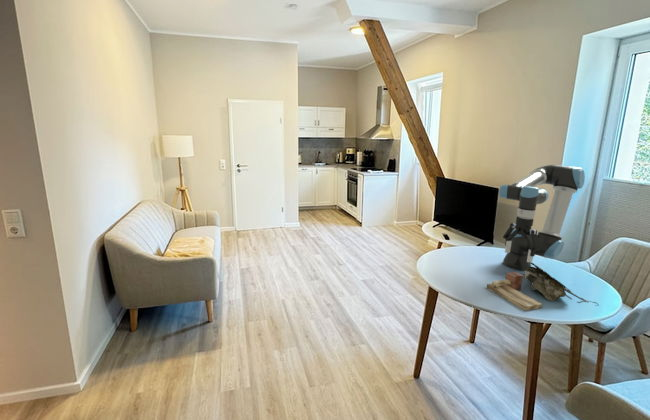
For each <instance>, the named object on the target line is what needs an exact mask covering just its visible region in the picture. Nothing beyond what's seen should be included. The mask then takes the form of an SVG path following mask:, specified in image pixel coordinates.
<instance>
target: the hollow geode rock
mask: <svg viewBox="0 0 650 420" xmlns="http://www.w3.org/2000/svg"><path fill="white" fill-rule="evenodd" d="M530 263H531V267H527V269H526V270H524V277H525V280H527V281H528V282H529V283H531V285H530V288H531V290H532V291H533V290H537V291H538V292H539V293H541V294H542V295H543V296H544V297H545V299H546V300H547V301H551V302H554V301H556V300H557V299H558V300H559V299H560V298H564V297H567V296H566V295H567V293H566V290H564V288H566V289H567V290H568V291H570V292H572V291H571V290H570V289H569V288H568V287H566V286H565V285H564V284H563V283H561V281H559V280H557V278H555V277H553V276H552V275H550V274H549V273H548V272H547V271H545V270H544V269H542V268H541V267H539V266H538V265H536V264H535V263H534V262H533V261H532V262H530Z"/></svg>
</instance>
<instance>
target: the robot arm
mask: <svg viewBox="0 0 650 420" xmlns="http://www.w3.org/2000/svg"><path fill="white" fill-rule="evenodd" d="M585 174H586V173H585V170H584V169H583V168H582V167H578V166H571V165H570V166H568V165H560V164H559V165H557V164H547V165H542V166H540V167H537V168H535V169H533V170H531V171H530V172H529V174H527V175H526V176H524V177H523V178H521V179H519V180H517V181H516V182H514V183H512V184H502V185H501V186H500V187H499V191H498V196H499V197H500V198H502V199H506V200H512V201H516V202H517V201H518V206H517V212H516V213H517V214H516V219H515V222H514V223H513V222H511V223H510V224H509V227H508V228H507V230H506V232H504V234H503V236H502V238H503V239H505V244H504V246H505V248H504V253H506V254H505V257H504V258H503V261H502V264H503V265H504V266H505V267H507V268H510V269H514V270H518V271H525V270H526V269H527V267H532V264H531V263H530V262H532V263H533V260H534V257H535V256H539V257H543V258H545V259H550V260H554V259H556V258H558V257H559V256H560V255H561V253H562V251H563V249H564V244H565V241H563V240H562V238H563V236H562V235H561V230H562V228H563V224H564V222H565V219H566V216H567V212H568V210H569V207H570V203H571V200H572V197H573V194H575V193H577V192H578V189H579V190H580V189H583V186H585V185H584V184H585V178H586V177H585ZM541 185H551V186H552V185H553V187H552V188H553V190H554V193H553V196H552V199H551V202H550V204H549V208H548V212H547V214H546V217H545V220H544V223H543V227H542V229H541V230H540V231H538V230H537V229H532V227H533V225H534V220H535V219H534V218H535V215H536V209H537V205H541V204H543V203H546V202H547V201H548V199H549V192H548V191H547V190H546V189H545V188H544V189H543V188H539V187H537V186H541Z"/></svg>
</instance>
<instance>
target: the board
mask: <svg viewBox="0 0 650 420" xmlns="http://www.w3.org/2000/svg"><path fill="white" fill-rule="evenodd" d="M486 289H488V290H489V291H491V292H493V293H495V294H497V295H498V296H500V297H502V298H503V299H505V300H506V301H508V302H510V303H511V304H513V305H515V306H517V307H518V308H520V309H521V310H524V311H532V310H537V309H542V307H543V303H542V302H539V301H538V300H536V299H534V298H532V297H531V296H529V295H527V294H524V293H523V292H521V291H520V290H516V289H514V288H512V287H510V286H508V285H501V286H496V287H494V286H493V285H492V283H487V284H486Z"/></svg>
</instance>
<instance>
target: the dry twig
mask: <svg viewBox="0 0 650 420" xmlns="http://www.w3.org/2000/svg"><path fill="white" fill-rule="evenodd" d="M566 288H567V287H566ZM566 288H564V291H565V292H567V293H569V294H570V295H572V296H573V297H576V298H577V299H580V300H581V301H576V304H577V303H578V304H581V303H589V302H590V303H592V301H590V300H586V299H584V298H582V297H580V296H578V295H577V294H575V293H574V292H572V291H571V290H570V291H571V292H570V291H568V288H567V289H566ZM565 297H567V298H568V299H570V300H573V298H572V297H571V296H569V295H567V294H566V296H565ZM593 303H594V306H596V307H598V306H599V304H598V302H595V301H593Z"/></svg>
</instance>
